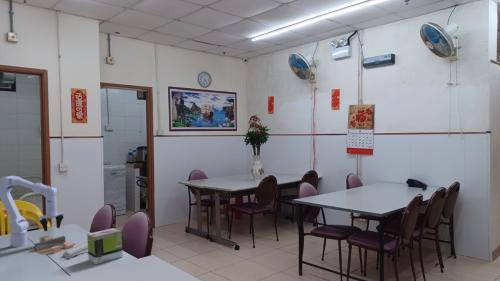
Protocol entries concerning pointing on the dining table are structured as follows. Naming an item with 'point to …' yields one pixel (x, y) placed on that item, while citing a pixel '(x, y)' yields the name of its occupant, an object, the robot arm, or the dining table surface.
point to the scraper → (48, 242)
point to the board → (44, 249)
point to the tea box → (104, 245)
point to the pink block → (55, 249)
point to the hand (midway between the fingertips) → (52, 229)
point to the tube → (75, 250)
